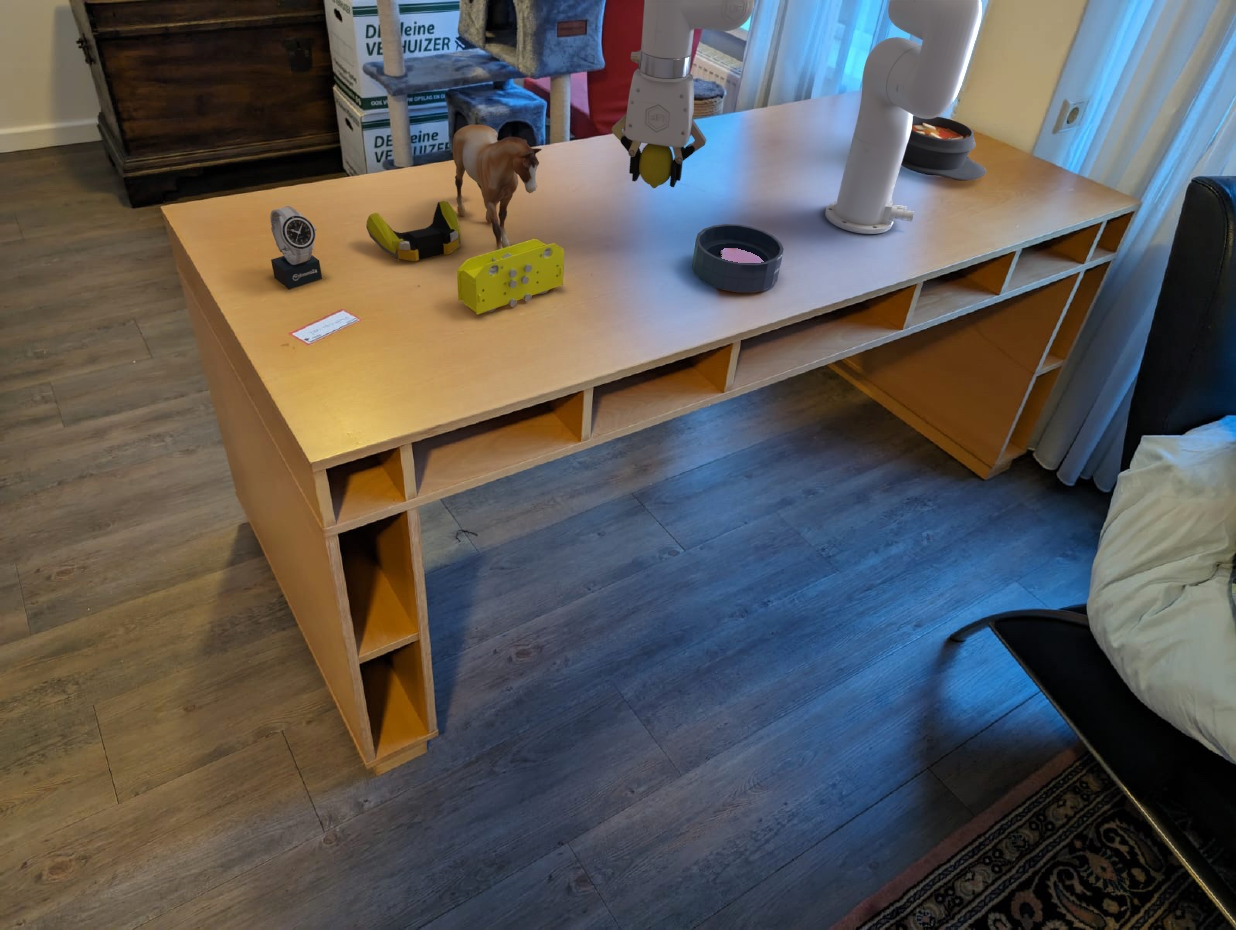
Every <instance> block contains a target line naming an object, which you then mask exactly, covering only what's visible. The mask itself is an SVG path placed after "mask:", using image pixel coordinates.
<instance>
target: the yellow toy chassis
mask: <svg viewBox="0 0 1236 930" xmlns="http://www.w3.org/2000/svg"><path fill="white" fill-rule="evenodd" d="M564 263H565V249H564V248H563V247H562V246H560V245H559V244H557V243H556V242H552V243H549V244H546V243H545V242H542V241H541V240H539V239H537V238H532V239H529V240H526V241H522V242H519V243H515V244H512V245H510V246H509V247H506V248H502V249H499V250H497V249H496V250H493V251H489V252H486V253H483V254H480V255H476V256H473V257H470V258H467V259H466V260H465V261H464V262H463V263H462V264H461V265H460V266H459V267H458V268H457V270H456V281H457V299H458V301H459V302H460V301H462V303H463V304H464V305H465V306H467V307H468V308H469V309H470V310H472V311H473V312H475V314H476V315H480V314H483V313H492V312H495V311H496V310H497V309H498V308H500V307H503V306H506V305H509V306H510V307H511V308H514V307H515V306H517V304H518V301H520V300H524V301H525V302H530V301H531V300H532V296H535V295H544V294H547V293H549V290H552V289H555V288H558V287H561V286H564V270H565V269H564V268H565V264H564Z"/></svg>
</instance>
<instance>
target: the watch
mask: <svg viewBox="0 0 1236 930" xmlns="http://www.w3.org/2000/svg"><path fill="white" fill-rule="evenodd" d="M269 218H270V219H269V220H270V226H271V227H270V230H271V233H272V236H273V238H274V241H275V245H276V247H277V248H278V251H279V252H280V253H281V254H282V256H278V257H275V258H271V259H270V263H271V267H272V273H273V276H274V280H276V281H277V282H279V283H280V284H281V285H282V286H283V287H285V289H287V290H292V289H295V288H298V287H302V286H305V285H308V284H311V283H314V282H317V281H321V280H323V274H322V268H321V263H320V259H318V258H316V257H315V256H314V255H313V251H314V250H315V240H316V236H317V235H316V231H317V226H316V225H314V224H313V223H312V222H311V221H310V219H308V218H307V217H305V216H304V215H303V214H302V213H301V212H300V211H299V210H296V209H295V208H293V207H292V206H290V205H289V206H284V207H280V208H276V209H272V210H271V212H270V215H269Z"/></svg>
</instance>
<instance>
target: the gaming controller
mask: <svg viewBox="0 0 1236 930" xmlns="http://www.w3.org/2000/svg"><path fill="white" fill-rule="evenodd" d="M365 228H366V230H367V232H368V236H369V238H371V239H372V241H374V242H375V244H376V245H377V246H378V247H379V248H380V249H381V250H382V251H383V252H385V253H387V254H389V255H390V256H391V257H394V258H395V260H397V261H409V262H417V261H421V260H425V259H426V260H427V259H430V258H435V257H439V256H444V255H450V254H452V253H453V252H454V251H456V250H457V249H458V248H459V247H460V245H461V243H462V238H461V237H462V235H461V229H460V224H459V220H458V216H457V211H456V210H455V209H454V208H453V206H452V205H451V204H450V202H449V201H448V200H441V201H438V202H437V204H436V207H435V210H434V213H433V218H432V223H431V224H429V226H427V227H425V228H419V229H413V230H409V231H408V230H407V231H402V232H400V231H396V230H393V229H392V227H391V226H390V225H389V224H388V223H387V221H386V220H385V219H384V218H383V216H382V215H381V214H380V213H379V212H373V213H371V214H369V215H368V218H367V220H366V227H365Z"/></svg>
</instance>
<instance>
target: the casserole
mask: <svg viewBox="0 0 1236 930" xmlns="http://www.w3.org/2000/svg"><path fill="white" fill-rule="evenodd" d="M976 147H977V143H976V141H975V133H974V130H973V129H972V128H970V127H969V126H968V125H965V124H964V123H961V122H959V121H957V120H953V119H950V118H946V117H942V116H938V117H935V118H932V119H923V118H919V117H916V116H914V115H912V128H911V133H910V137H909V140H908V143H907V146H906V150H905V153H904V156H903V160H902V163H901V166H902V167H903V168H905V169H907V170H909V171H911V172H915V173H917V174H921V175H926V176H934V177H937V176H938V177H942V178H945V179H950V180H953V181H958V182H959V181H960V182H962V181H963V182H964V181H966V182H967V181H972V180H977V179H980V178H982V177H983V176H985V175H986V174H987V169H986V167H984V166H983V165H981V164H979V163H978V162H976V161H974V160H973V159H971V158H970V157H969V155H970V153H971V151H973V150H974V149H975V148H976Z"/></svg>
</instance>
